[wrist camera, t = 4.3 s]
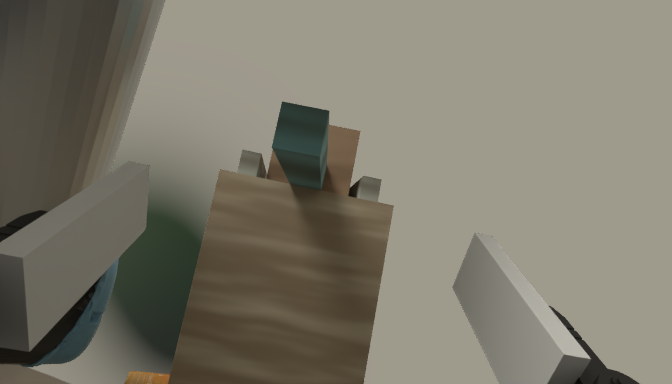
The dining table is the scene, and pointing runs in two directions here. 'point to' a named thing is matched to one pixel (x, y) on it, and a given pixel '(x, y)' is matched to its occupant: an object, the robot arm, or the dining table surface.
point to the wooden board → (283, 283)
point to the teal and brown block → (312, 150)
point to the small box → (146, 378)
